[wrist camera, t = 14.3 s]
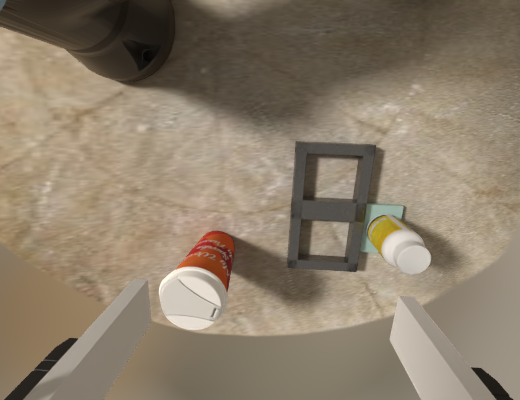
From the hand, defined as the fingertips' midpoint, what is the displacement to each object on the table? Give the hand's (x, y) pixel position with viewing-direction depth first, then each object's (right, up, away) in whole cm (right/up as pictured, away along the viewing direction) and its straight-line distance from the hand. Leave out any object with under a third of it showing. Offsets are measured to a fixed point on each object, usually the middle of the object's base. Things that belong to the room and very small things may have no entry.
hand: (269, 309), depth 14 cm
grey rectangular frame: (+10, +5, +28) cm, 30 cm away
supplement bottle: (+19, +1, +28) cm, 34 cm away
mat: (+19, +1, +28) cm, 34 cm away
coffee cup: (-8, -2, +31) cm, 32 cm away
